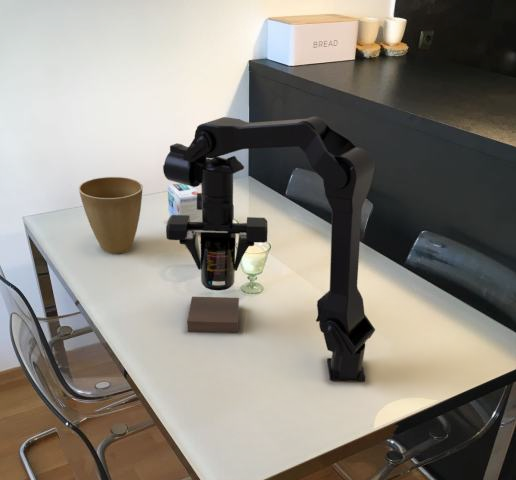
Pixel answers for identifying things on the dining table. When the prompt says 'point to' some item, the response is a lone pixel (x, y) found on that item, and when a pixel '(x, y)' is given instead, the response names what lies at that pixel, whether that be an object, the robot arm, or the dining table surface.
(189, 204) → the light bulb box
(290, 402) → the dining table surface
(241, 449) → the dining table surface
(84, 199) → the plant pot
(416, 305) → the dining table surface
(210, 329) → the walnut block
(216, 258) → the supplement container
